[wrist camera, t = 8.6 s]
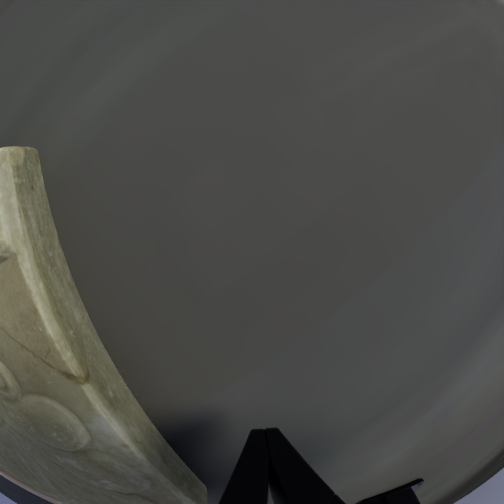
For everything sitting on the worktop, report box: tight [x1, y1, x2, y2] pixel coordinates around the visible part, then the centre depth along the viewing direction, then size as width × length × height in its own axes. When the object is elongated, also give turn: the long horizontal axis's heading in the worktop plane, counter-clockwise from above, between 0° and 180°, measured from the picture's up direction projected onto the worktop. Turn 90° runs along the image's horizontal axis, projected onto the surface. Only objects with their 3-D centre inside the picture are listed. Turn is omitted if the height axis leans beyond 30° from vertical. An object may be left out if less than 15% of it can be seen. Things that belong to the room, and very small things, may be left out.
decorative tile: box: [0, 146, 208, 504], centre depth 9 cm, size 19×20×4 cm
